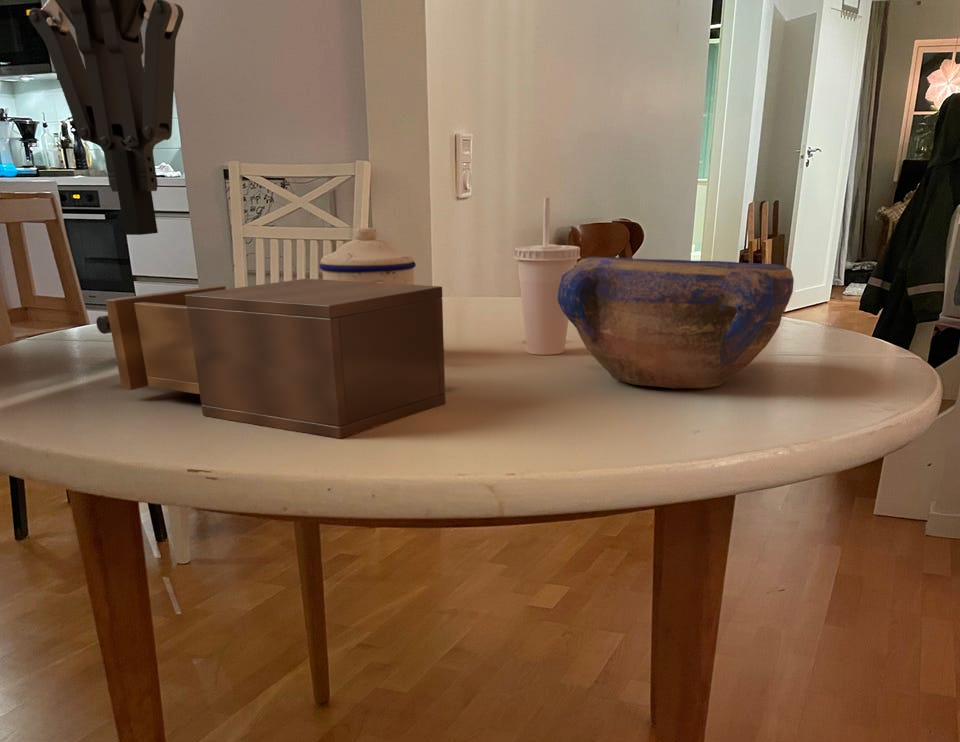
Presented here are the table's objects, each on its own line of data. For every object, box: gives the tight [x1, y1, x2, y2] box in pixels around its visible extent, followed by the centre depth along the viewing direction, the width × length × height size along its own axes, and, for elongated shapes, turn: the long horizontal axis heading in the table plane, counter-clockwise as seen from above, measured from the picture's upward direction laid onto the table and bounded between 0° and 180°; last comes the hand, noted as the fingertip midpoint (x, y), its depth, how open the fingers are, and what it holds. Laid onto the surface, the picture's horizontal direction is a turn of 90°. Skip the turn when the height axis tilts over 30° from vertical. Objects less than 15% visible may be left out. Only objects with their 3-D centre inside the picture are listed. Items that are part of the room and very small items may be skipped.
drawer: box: [95, 285, 227, 395], centre depth 75 cm, size 18×11×7 cm, turn 57°
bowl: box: [557, 256, 795, 390], centre depth 77 cm, size 18×18×10 cm
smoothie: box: [513, 196, 582, 356], centre depth 89 cm, size 6×6×14 cm
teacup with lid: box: [319, 227, 417, 285], centre depth 87 cm, size 12×9×12 cm
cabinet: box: [185, 278, 446, 439], centre depth 69 cm, size 14×13×9 cm
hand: (141, 233), depth 81 cm, fingers closed
